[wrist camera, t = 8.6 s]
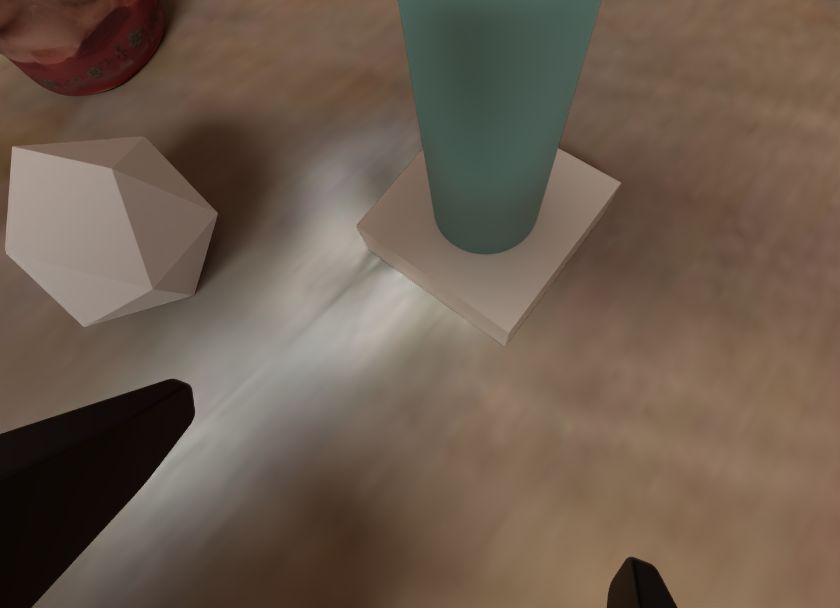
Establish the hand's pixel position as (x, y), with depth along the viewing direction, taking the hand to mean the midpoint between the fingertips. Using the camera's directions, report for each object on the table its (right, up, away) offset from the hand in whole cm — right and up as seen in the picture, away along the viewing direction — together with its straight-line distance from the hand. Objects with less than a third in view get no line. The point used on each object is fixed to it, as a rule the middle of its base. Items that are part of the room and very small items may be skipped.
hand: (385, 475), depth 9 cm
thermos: (+4, +8, +13) cm, 16 cm away
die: (-14, +6, +18) cm, 24 cm away
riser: (+4, +7, +16) cm, 18 cm away
